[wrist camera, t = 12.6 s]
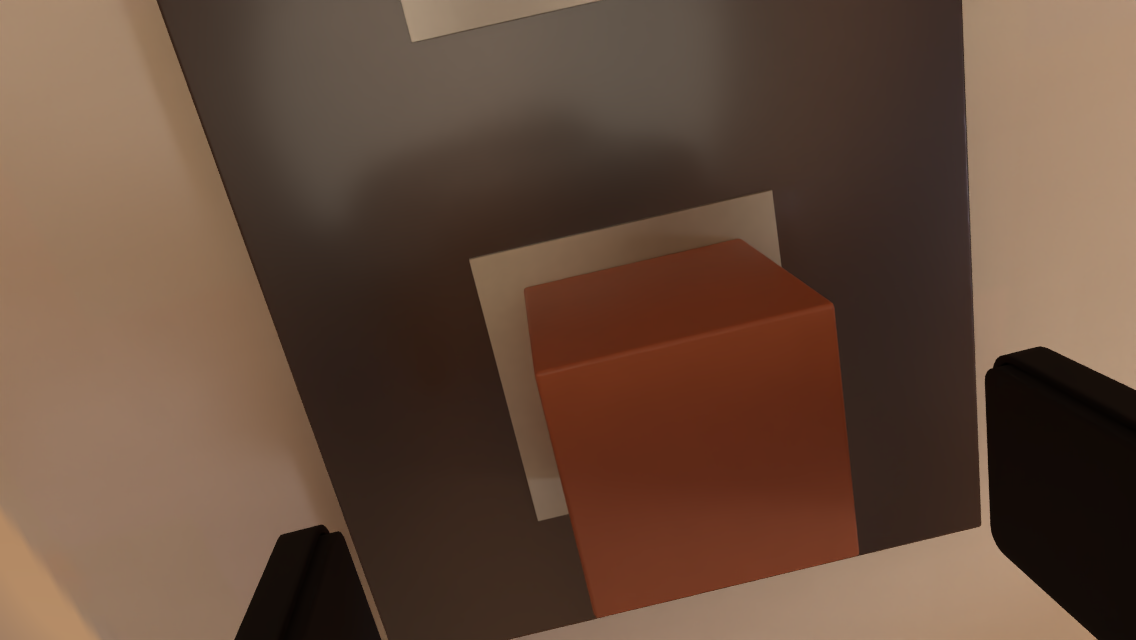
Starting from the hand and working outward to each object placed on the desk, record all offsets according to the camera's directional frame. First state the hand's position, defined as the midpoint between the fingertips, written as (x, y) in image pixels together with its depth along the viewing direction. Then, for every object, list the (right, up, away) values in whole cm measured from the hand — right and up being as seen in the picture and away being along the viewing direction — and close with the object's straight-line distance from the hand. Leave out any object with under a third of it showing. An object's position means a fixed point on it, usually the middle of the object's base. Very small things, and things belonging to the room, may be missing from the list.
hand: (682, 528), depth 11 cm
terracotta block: (0, +2, +5) cm, 5 cm away
